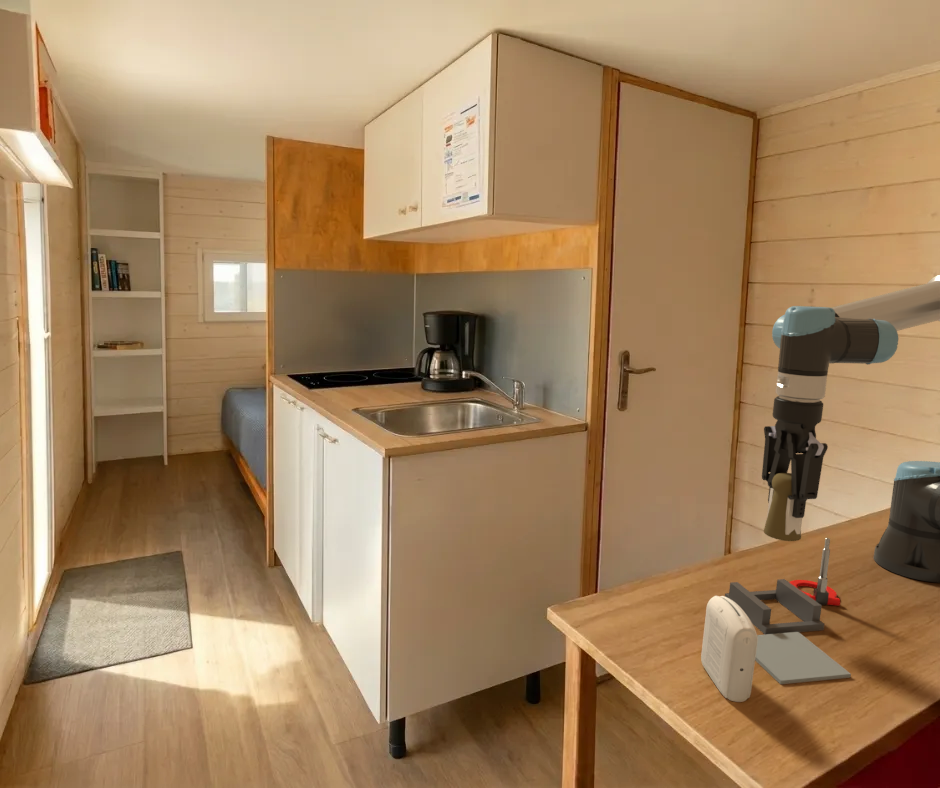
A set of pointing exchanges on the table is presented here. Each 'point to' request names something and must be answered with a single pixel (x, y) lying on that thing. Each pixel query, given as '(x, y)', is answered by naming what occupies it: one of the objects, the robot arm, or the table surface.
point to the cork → (780, 509)
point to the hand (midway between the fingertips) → (783, 528)
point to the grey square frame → (788, 598)
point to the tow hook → (821, 582)
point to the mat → (795, 659)
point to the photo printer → (729, 648)
